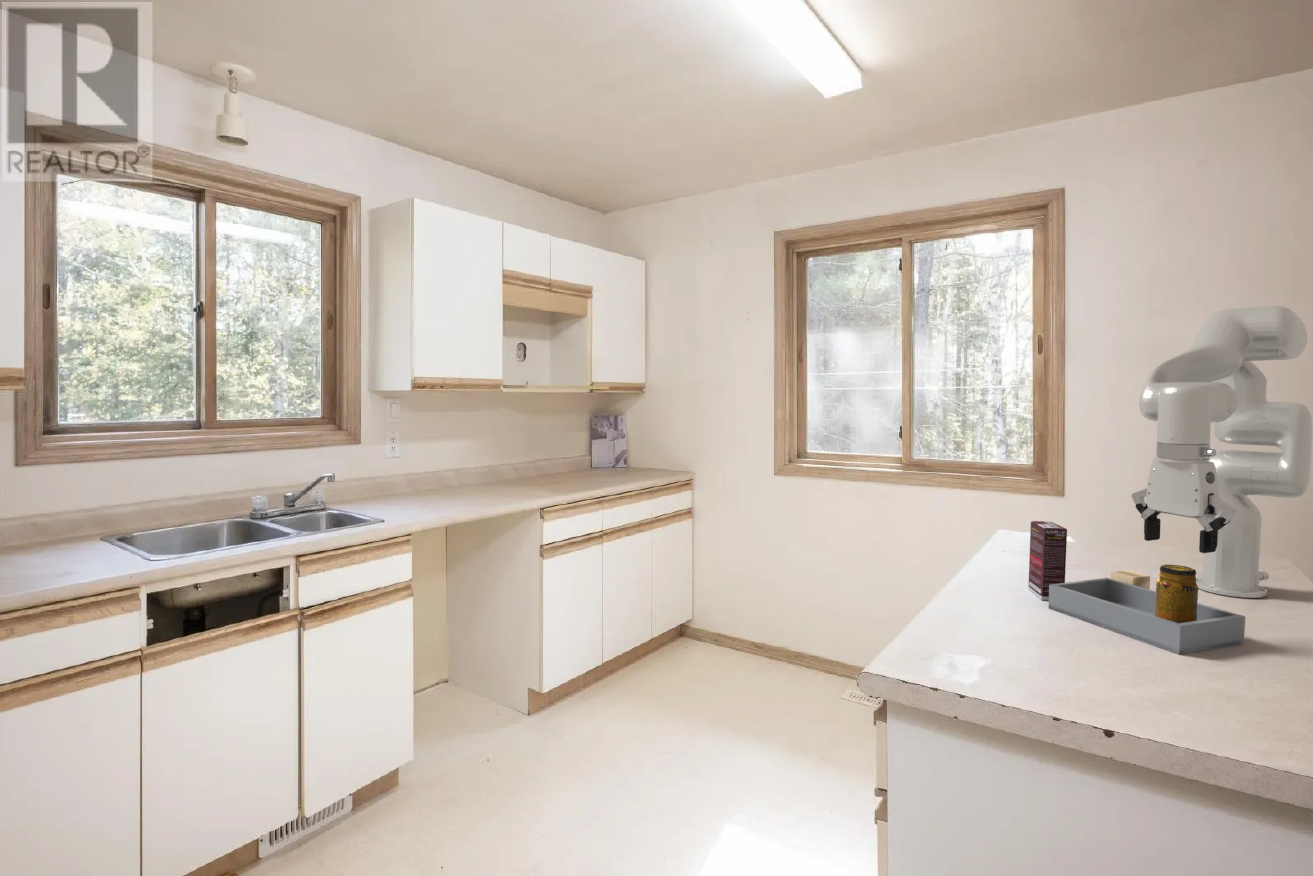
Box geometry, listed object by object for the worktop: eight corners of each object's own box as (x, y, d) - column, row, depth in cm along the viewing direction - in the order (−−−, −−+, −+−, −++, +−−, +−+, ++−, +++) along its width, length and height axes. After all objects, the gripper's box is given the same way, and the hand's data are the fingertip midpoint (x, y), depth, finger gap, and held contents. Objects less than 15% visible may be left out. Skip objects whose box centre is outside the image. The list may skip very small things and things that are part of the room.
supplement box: (1065, 602, 143) (1068, 528, 142) (1041, 600, 144) (1043, 528, 143) (1050, 590, 151) (1052, 521, 150) (1027, 589, 152) (1029, 520, 151)
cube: (1127, 592, 150) (1128, 570, 149) (1149, 598, 145) (1150, 576, 145) (1110, 594, 148) (1111, 572, 148) (1131, 600, 144) (1133, 578, 143)
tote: (1106, 600, 143) (1107, 577, 143) (1243, 643, 119) (1245, 616, 118) (1048, 608, 139) (1049, 584, 138) (1178, 654, 114) (1180, 626, 113)
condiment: (1167, 623, 127) (1170, 561, 126) (1218, 638, 119) (1221, 572, 118) (1142, 628, 124) (1144, 565, 123) (1192, 644, 116) (1196, 576, 116)
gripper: (1251, 456, 113) (1247, 555, 115) (1149, 447, 130) (1146, 533, 131) (1220, 459, 111) (1216, 559, 112) (1120, 449, 127) (1118, 537, 129)
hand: (1178, 545), depth 122 cm, fingers open, 9 cm apart
